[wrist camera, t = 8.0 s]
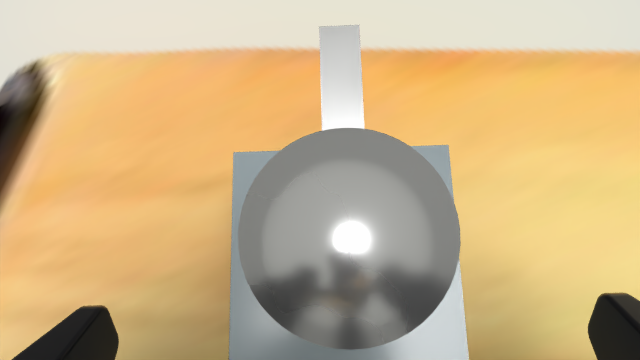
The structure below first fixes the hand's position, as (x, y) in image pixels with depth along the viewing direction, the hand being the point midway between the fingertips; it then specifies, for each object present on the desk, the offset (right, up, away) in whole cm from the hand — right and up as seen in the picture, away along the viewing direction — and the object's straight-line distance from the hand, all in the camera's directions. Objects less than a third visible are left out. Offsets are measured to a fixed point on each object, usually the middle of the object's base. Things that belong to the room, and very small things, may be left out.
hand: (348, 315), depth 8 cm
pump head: (0, +1, +7) cm, 7 cm away
